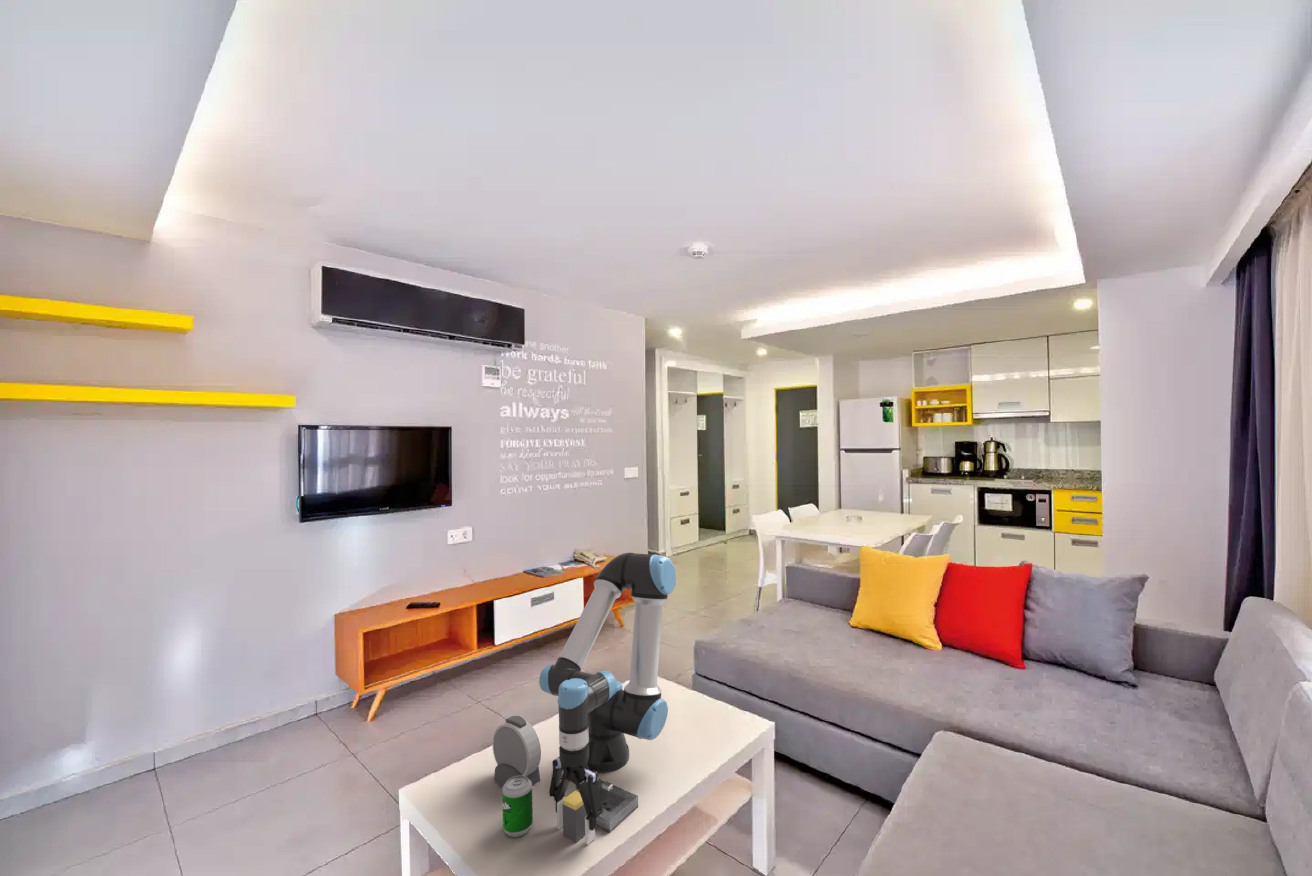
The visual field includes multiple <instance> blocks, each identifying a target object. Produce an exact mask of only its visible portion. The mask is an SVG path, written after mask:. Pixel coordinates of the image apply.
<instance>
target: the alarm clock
mask: <svg viewBox="0 0 1312 876" xmlns="http://www.w3.org/2000/svg"><path fill="white" fill-rule="evenodd" d="M493 733H494V734H493V736H492V751H493V752H492V753H493V757H494V760H495V762H496V766H495V768H494V775H493V776H494V777H493V778H494V779H493V781H494V783H495V784H496V785H497V786H498V787H499V788H501V789H503V786H504V784H505V783H506V782H507V780H509V779H510V778H512V777H514V776H519V775H520V776H526V777H527V778H528V779H529V780H531V782H532V787H534V786H535V785H536V784H538V783H539V782H541V777H540V763H541V759H542V758H541V757H542V749H541V742H540V739H539V738H540V737H539V736H538V734H537V731H536V730H535V727H533V726H532V724H530V722H528V721H527V720H526V719H525V718H523V717H522V716H520V715H512V716H509V717H508V718H506V719H505V722H503V723H502V724H501V723H500V725H498V726H497V727H496V729H495V730H494V732H493Z"/></svg>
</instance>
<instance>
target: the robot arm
mask: <svg viewBox="0 0 1312 876" xmlns="http://www.w3.org/2000/svg"><path fill="white" fill-rule="evenodd" d="M676 583H677V573H676V568H675V566H674V564H673V562H672V560H671V559H670V558H669V557H667V556H665V555H659V554H656V553H655V554H649V553H635V552H623V553H621V554H618V555H617V556H615V557H614V558H612V559H611V560H609V561H608V563H606V565H604V567H602V569H601V570H600V571H599V574H597V576H596V578H595V580H594V582H593V586H594V589H593V590H592V592H591V595H590V596H589V598H588V601H587V603H585V606H584V608H583V609H582V612H581V613H580V616H579V617H578V619H577V621H576V624H575V626H574V628H573V629H572V631H571V633H570V635H569V637H568V639H567V641H566V642H565V644H564V647H563V649H562V650H561V652H560V654H559V656H558V657H557V660H556V661H555V664H554V663H553V664H547V665H545V667H543V668H542V669H541V672H540V673H539V680H538V683H539V684H538V685H539V687H540V689H541V691H542V692H544V693H547V694H550V695H552V696H557V697H558V698H557V704H558V741H559V742H558V743H559V747H558V751H559V753H558V755H559V756H558V757H556V758H555V759H554V760H552V762H551V763H552V774H551V781H550V785H549V791H548V795H549V797H551V798H552V797H553V800H554V802H555V813H556V816H557V817H556V819H557V820H556V826H557V830H561V829H563V799H564V798H566V797H565V796H567V794H566V792H567V789H568V786H569V784H570V783H573V784H574V785H575V788H576V791H577V790H578V792H580V795H581V798H582V801H583V804H584V807H585V810H586V813H587V816H585V836H584V837H585V841H584V842H585V844H586V845H589V844H590V843H592V842H593V841H594V840H595V839H596V828H597V826H596V818H597V817H598V816H599V815H600V814H601V813H602V812H603V809H602V804H601V798H600V793H599V787H598V782H597V780H599V777H598V775H599V774H598V773H599V772H600V773H604V772H611V771H616V770H618V769H620V768H622V767H624V766H625V765H626V764H627V763H628V761H629V759H630V748H629V747H630V746H629V745H628V742H627V739H626V736H625V735H627V736H631V737H636V738H638V739H640V740H647V741H652V740H655V739H656V738H658V736H659V735H660V734H661V732H662V731H663V730H664V727H665V725H666V721H667V720H668V719H667V718H668V713H669V712H668V711H669V707H668V703H667V701H666V700H665V699H664V698H662V689H661V687H660V685H658V677H659V659H660V658H659V657H660V644H661V643H660V642H661V631H662V630H661V629H662V615H663V614H662V613H663V612H662V611H663V604H664V603H665V602H666V601H668V597H669V595H670V594H672V593H673V592H674V590H675V586H676ZM625 590H630V591H631V592H630V593H631V594H630V595H631V596H630V597H631V599H632V600H633V601H634V606H635V607H634V618H633V630H632V631H633V632H632V641H631V642H632V644H631V657H630V669H629V681H628V683H627V684H626V685H625V686H624V688H623V684H622V682H621V681H620V680H617V679H616V677H615V676H614V674H613V673H612V672H610V671H609V670H601V671H597V672H596V673H590V672H585V671H581V670H582V669H583V666H584V664H585V662H586V661H587V658H588V656H589V654H590V652H591V650H592V648H593V646H594V644H595V642H596V640H597V638H598V637H599V634H600V632H601V630H602V627H603V626H604V624H605V622H606V619H607V617H608V615H609V613H610V611H611V609H612V607H613V605H614V603H615V601H616V599H619V598H621V597H622V596H621V595H622V593H623V592H624V591H625Z"/></svg>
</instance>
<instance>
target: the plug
mask: <svg viewBox="0 0 1312 876" xmlns="http://www.w3.org/2000/svg"><path fill="white" fill-rule="evenodd" d="M563 798H564V797H563ZM585 816H587V813H586V810H585V807H584V804H583V801H582V798H581V795H580V792H579V790H578V791H577V790H573V792H571V793H570V794H569V795H566V797H565V798H564V799H563V827H562V834H563V835H562V836H563V837H565V838H566V839H568V840H569V841H572V842H574V843H576V844H577V843H579V841H580V840H581V839H583V838H584V837H585Z"/></svg>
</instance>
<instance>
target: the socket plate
mask: <svg viewBox="0 0 1312 876" xmlns="http://www.w3.org/2000/svg"><path fill="white" fill-rule="evenodd" d="M597 782H598V787H599V793H600V798H601V804H602V809H603V812H602V813H601V814H600V815H599V816H598V817H597V818H596V828H599V829H602V830H604V831H606V832H608V833H611V832H613V831H614V830H615V829H616V828H617V827H618V826H619V825H620V824H622V822H623V821H625V820H626V819H627V818H628V817H629V816H630V815H631V814H632V813H633V812H635V810H637V808H639V795H637V794H635V793H633V792H630V791H628V790H626V789H624V788H621V787H619V786H616V785H614V784H613V783H612V782H610V781H608V780H603V779H601V778H598V779H597Z"/></svg>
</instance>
